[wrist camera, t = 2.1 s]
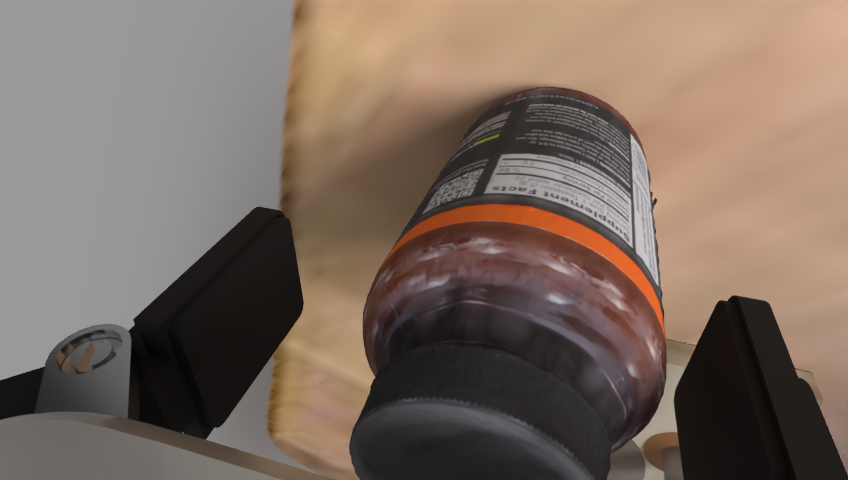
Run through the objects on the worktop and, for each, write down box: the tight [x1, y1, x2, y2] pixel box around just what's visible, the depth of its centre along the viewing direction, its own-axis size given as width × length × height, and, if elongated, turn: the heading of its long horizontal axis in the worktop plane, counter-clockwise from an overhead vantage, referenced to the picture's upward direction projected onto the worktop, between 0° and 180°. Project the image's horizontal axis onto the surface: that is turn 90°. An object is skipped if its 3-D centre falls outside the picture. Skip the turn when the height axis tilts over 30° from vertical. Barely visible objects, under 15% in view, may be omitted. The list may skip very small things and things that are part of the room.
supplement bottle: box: [349, 87, 667, 480], centre depth 12 cm, size 6×6×11 cm
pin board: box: [607, 339, 823, 480], centre depth 22 cm, size 14×14×4 cm
